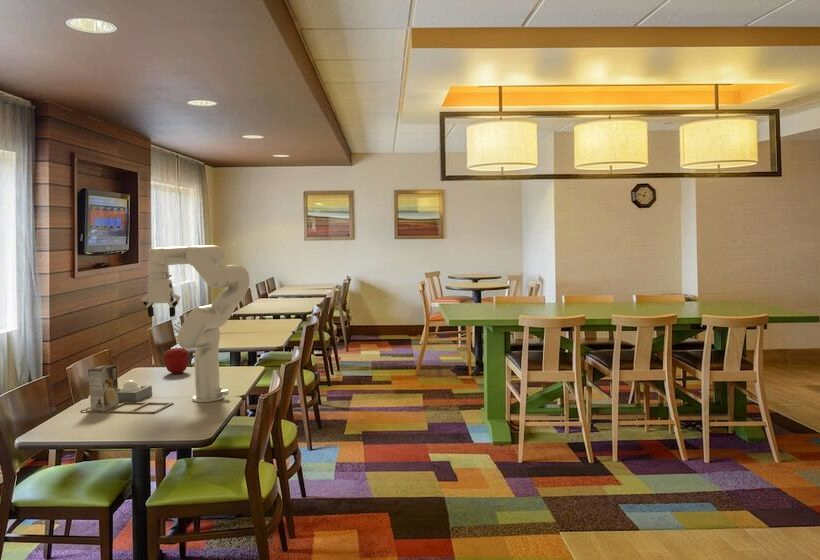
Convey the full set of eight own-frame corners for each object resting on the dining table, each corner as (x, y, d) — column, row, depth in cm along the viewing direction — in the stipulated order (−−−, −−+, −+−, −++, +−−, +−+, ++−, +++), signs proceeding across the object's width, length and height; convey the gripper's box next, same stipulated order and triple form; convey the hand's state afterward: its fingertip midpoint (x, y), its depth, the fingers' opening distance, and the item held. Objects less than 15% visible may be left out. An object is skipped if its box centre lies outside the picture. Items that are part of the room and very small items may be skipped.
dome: (145, 392, 278) (144, 378, 277) (134, 396, 270) (133, 382, 269) (127, 391, 279) (126, 377, 278) (116, 396, 271) (115, 382, 271)
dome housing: (152, 395, 279) (151, 385, 279) (136, 402, 268) (135, 392, 267) (126, 394, 281) (125, 385, 281) (109, 401, 269) (108, 392, 269)
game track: (173, 404, 263) (173, 402, 263) (154, 413, 249) (154, 412, 249) (103, 402, 268) (102, 401, 268) (80, 412, 254) (80, 410, 254)
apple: (184, 369, 332) (183, 343, 331) (193, 373, 323) (192, 346, 322) (160, 373, 324) (159, 346, 323) (169, 377, 315) (167, 349, 314)
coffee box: (105, 403, 265) (103, 364, 264) (119, 404, 264) (117, 364, 263) (90, 409, 256) (87, 369, 255) (104, 410, 255) (102, 369, 254)
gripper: (182, 275, 282) (184, 315, 283) (145, 276, 284) (147, 315, 286) (174, 276, 275) (176, 317, 276) (135, 277, 277) (138, 317, 278)
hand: (161, 316), depth 281 cm, fingers open, 9 cm apart
